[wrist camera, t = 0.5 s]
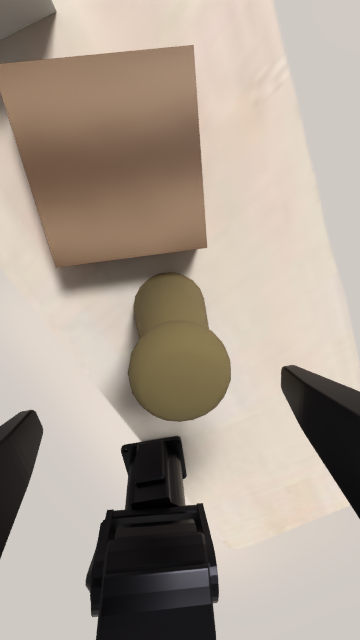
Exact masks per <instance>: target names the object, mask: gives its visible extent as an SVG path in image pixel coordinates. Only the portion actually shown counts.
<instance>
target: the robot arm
mask: <svg viewBox="0 0 360 640" xmlns="http://www.w3.org/2000/svg"><path fill="white" fill-rule="evenodd" d="M281 388H282V391H283V393H284V395H285V397H286V399H287V401H288V403H289V405H290V407H291V409H292V411H293V413H294V415H295V417H296V419H297V421H298V423H299V425H300V427H301V429H302V430H303V432H304V433H305V435H306V437H307V438H308V440H309V441H310V443H311V444H312V446H313V447H314V449H315V451H316V452H317V454H318V455H319V457H320V458H321V460H322V461H323V463H324V464H325V466H326V467H327V469H328V471H329V472H330V474H331V475H332V477H333V478H334V480H335V481H336V483H337V484H338V486H339V488H340V489H341V491H342V492H343V494H344V495H345V497H346V498H347V500H348V501H349V503H350V505H351V506H352V508H353V509H354V511H355V512H356V514H357V515H358V517H359V518H360V392H359V391H357V390H354V389H352V388H350V387H347V386H345V385H342V384H340V383H337V382H335V381H332V380H330V379H327V378H325V377H322V376H320V375H317V374H315V373H312V372H310V371H307V370H305V369H303V368H300V367H298V366H295V365H289V366H284V367H282V370H281ZM42 435H43V428H42V425H41V422H40V420H39V418H38V416H37V414H36V412H35V411H34V410H28V411H22V412H20V413H18V414H17V415H15V416H14V417H13V418H11V419H10V420H9V421H7V422H6V423H4V424H3V425H1V426H0V558H1V555H2V552H3V550H4V547H5V545H6V542H7V539H8V536H9V534H10V531H11V529H12V526H13V523H14V521H15V518H16V516H17V513H18V510H19V508H20V505H21V502H22V500H23V497H24V494H25V492H26V489H27V487H28V484H29V481H30V478H31V474H32V471H33V468H34V464H35V461H36V457H37V453H38V450H39V446H40V442H41V439H42ZM125 449H127V450H125ZM121 453H122V456H123V460H124V463H125V466H126V470H127V473H128V485H127V496H126V505H125V510H117V511H114V510H107V513H106V518H105V520H103V522H102V523H101V525H100V531H99V537H98V542H97V547H96V550H95V553H94V556H93V559H92V562H91V564H90V567H89V571H88V573H87V577H86V587H87V588H88V590H89V591H90V600H91V615H92V617H97V616H98V626H97V636H96V640H216V631H215V621H214V612H213V603H217V602H218V597H219V587H218V573H217V564H216V557H215V551H214V547H213V543H212V539H211V535H210V531H209V527H208V523H207V519H206V515H205V511H204V507H203V503H198V504H197V505H187V506H185V497H184V487H183V479H184V478H186V476H187V475H186V468H185V461H184V455H183V448H182V442H181V438H180V437H178V436H175V437H169V438H163V439H157V440H151V441H144V442H138V443H132V444H126V445H123V446H122V448H121Z"/></svg>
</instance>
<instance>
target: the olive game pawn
mask: <svg viewBox="0 0 360 640" xmlns="http://www.w3.org/2000/svg"><path fill="white" fill-rule="evenodd" d="M134 311H135V317H136V323H137V330H138V336H139V341H138V343H137V345H136V346H135V348H134V350H133V351H132V353H131V359H130V364H129V370H128V376H129V381H130V386H131V390H132V393H133V395H134V396H135V398H136V399H137V401H138V402H139V404H140V405H141V406H142V407H143V408H144V409H146V410H147V411H148V412H149V413H151V414H152V415H153V416H156V417H158V418H161V419H164V420H168V421H178V422H180V421H187V420H193V419H196V418H198V417H201V416H203V415H206V414H207V413H208V412H210V411H211V410H213V409H214V408H215V407H216V406H217V405H218V404H219V402H220V401H221V400H222V399H223V397H224V396H225V394H226V391H227V389H228V386H229V383H230V380H231V366H230V359H229V356H228V354H227V351H226V349H225V347H224V345H223V343H222V341H221V340H220V339H219V338H218V337H217V336H216V335H215V334H214V333H213V332H212V331H211V330H209V327H208V321H207V315H206V308H205V302H204V298H203V295H202V293H201V290H200V288H199V287H198V286H197V285H196V284H195V283H194V281H193V280H191V279H189V278H187V277H186V276H184V275H181V274H176V273H163V274H158V275H156V276H154V277H152V278H150V279H148V280H147V281H146V282H145V283H144V284H143V285H142V286H141V287H140V289H139V291H138V292H137V294H136V296H135V302H134Z"/></svg>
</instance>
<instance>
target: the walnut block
mask: <svg viewBox="0 0 360 640" xmlns="http://www.w3.org/2000/svg"><path fill="white" fill-rule="evenodd" d="M0 92H1V96H2V99H3V102H4V105H5V108H6V111H7V115H8V118H9V121H10V124H11V127H12V130H13V134H14V137H15V140H16V143H17V146H18V149H19V153H20V156H21V159H22V162H23V165H24V168H25V172H26V175H27V178H28V181H29V184H30V187H31V191H32V194H33V197H34V200H35V203H36V206H37V210H38V213H39V216H40V219H41V222H42V225H43V229H44V232H45V235H46V238H47V241H48V244H49V248H50V251H51V254H52V257H53V260H54V263H55V267H64V266H72V265H79V264H87V263H95V262H102V261H110V260H118V259H125V258H133V257H140V256H148V255H156V254H163V253H171V252H179V251H186V250H194V249H201V248H207V239H206V224H205V209H204V194H203V179H202V164H201V149H200V134H199V119H198V104H197V90H196V75H195V60H194V45H189V46H179V47H168V48H158V49H148V50H137V51H127V52H116V53H106V54H96V55H85V56H75V57H65V58H54V59H44V60H33V61H23V62H13V63H2V64H0Z"/></svg>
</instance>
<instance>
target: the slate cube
mask: <svg viewBox="0 0 360 640" xmlns="http://www.w3.org/2000/svg"><path fill="white" fill-rule="evenodd" d="M55 12H56V9H55V7H54V4H53V2H52V0H0V40H2V39H4V38H6V37H8V36H10V35H11V34H13V33H15V32H17V31H19V30H21V29H23V28H25V27H27V26H29V25H31V24H33V23H35V22H37V21H39V20H41V19H43V18H45V17H47V16H49V15H51V14H53V13H55Z"/></svg>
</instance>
